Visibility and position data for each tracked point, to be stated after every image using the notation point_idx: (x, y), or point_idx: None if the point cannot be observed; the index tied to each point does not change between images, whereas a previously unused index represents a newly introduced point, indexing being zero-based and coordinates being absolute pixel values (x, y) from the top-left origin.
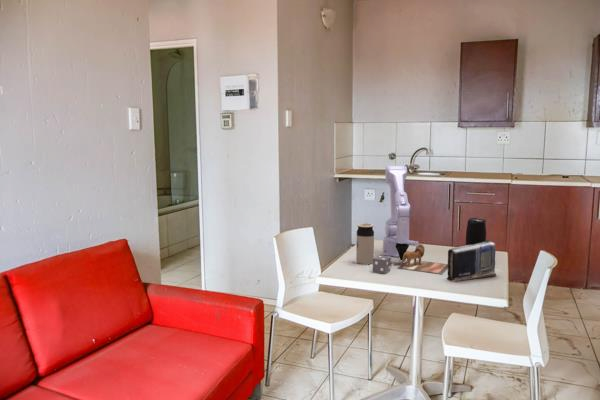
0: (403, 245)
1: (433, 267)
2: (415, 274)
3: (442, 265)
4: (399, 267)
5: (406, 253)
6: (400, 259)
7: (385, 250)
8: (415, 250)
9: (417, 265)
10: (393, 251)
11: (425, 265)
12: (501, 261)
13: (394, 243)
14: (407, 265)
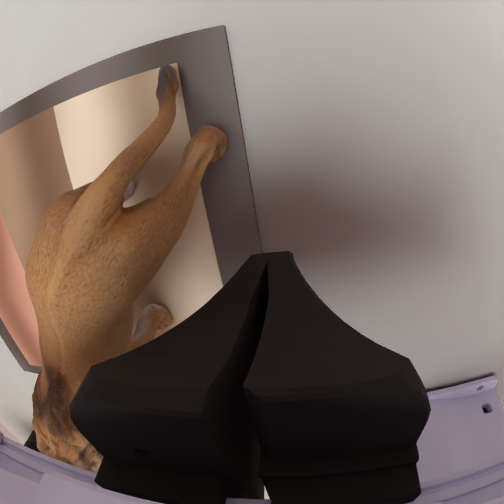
0: (181, 464)
1: (12, 276)
2: (3, 15)
3: (25, 342)
4: (208, 65)
5: (58, 221)
6: (281, 253)
7: (488, 413)
8: (54, 392)
9: None
10: (431, 427)
11: None
12: (14, 435)
13: (463, 471)
14: None
